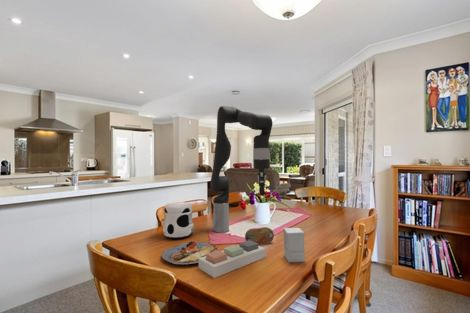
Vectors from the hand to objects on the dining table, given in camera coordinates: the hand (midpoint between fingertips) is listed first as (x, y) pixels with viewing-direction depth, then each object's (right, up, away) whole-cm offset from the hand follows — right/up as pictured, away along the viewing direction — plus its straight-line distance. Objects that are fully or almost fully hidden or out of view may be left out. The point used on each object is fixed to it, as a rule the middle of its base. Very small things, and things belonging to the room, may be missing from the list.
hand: (262, 194), depth 114 cm
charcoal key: (-6, -25, -1) cm, 26 cm away
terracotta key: (-20, -25, -13) cm, 35 cm away
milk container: (-45, -29, +30) cm, 61 cm away
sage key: (-13, -25, -7) cm, 29 cm away
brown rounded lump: (0, -28, +14) cm, 32 cm away
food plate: (-33, -29, +1) cm, 44 cm away
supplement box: (+14, -28, -4) cm, 31 cm away
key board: (-13, -28, -7) cm, 32 cm away
